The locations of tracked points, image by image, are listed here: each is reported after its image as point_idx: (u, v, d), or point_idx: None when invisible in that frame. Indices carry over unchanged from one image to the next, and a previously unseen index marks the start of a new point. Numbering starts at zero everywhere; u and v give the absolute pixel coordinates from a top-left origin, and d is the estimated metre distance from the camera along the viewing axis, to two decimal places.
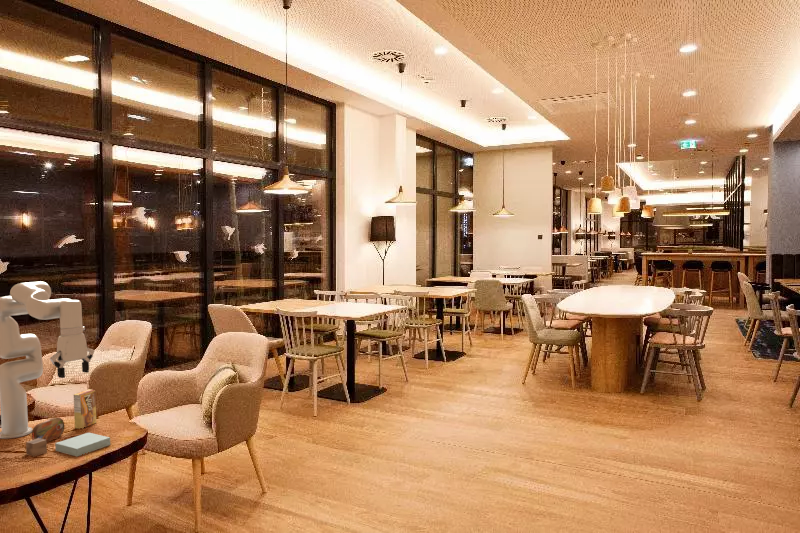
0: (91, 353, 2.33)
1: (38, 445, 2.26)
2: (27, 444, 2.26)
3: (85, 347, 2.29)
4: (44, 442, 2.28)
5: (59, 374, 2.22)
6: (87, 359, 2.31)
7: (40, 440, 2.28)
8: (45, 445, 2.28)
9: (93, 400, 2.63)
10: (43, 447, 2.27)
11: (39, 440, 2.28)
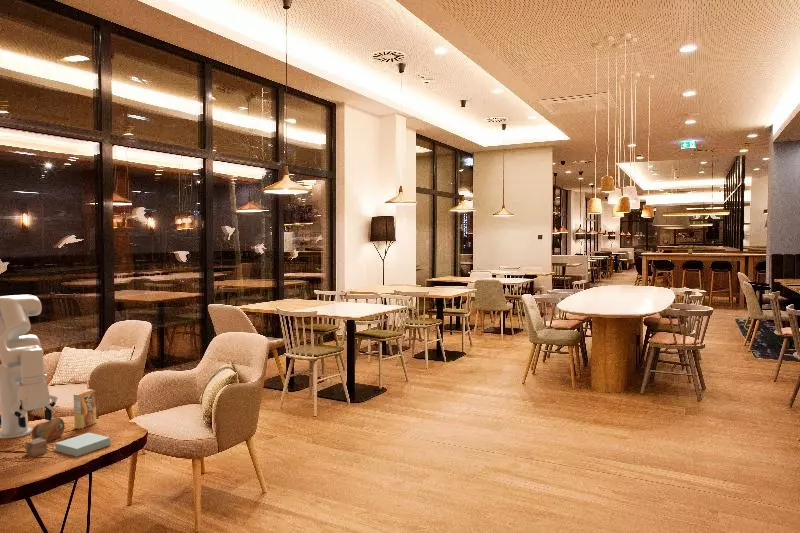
0: (54, 400, 2.33)
1: (38, 445, 2.26)
2: (27, 444, 2.26)
3: (47, 395, 2.29)
4: (44, 442, 2.28)
5: (20, 424, 2.21)
6: (49, 407, 2.30)
7: (40, 440, 2.28)
8: (45, 445, 2.28)
9: (93, 400, 2.63)
10: (43, 447, 2.27)
11: (39, 440, 2.28)
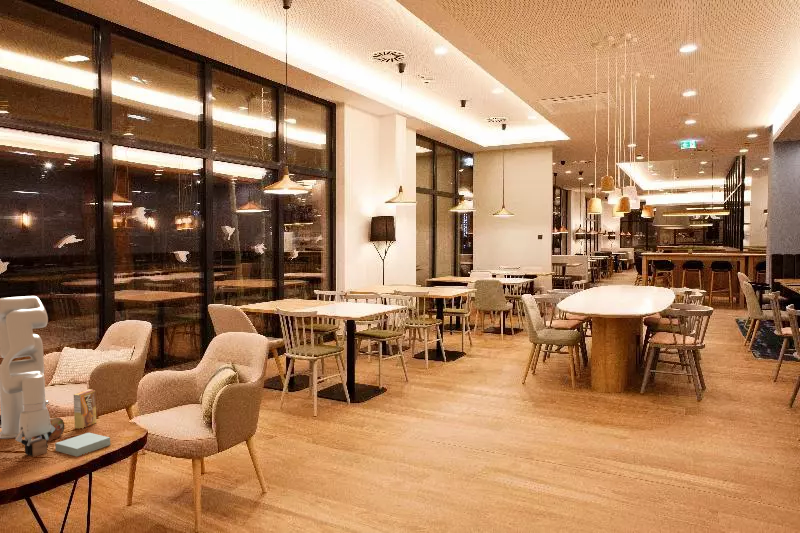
0: (51, 431, 2.32)
1: (38, 445, 2.26)
2: None
3: (48, 421, 2.29)
4: (44, 442, 2.28)
5: (26, 452, 2.24)
6: (45, 437, 2.29)
7: (40, 440, 2.28)
8: (45, 445, 2.28)
9: (93, 400, 2.63)
10: (43, 447, 2.27)
11: (39, 440, 2.28)
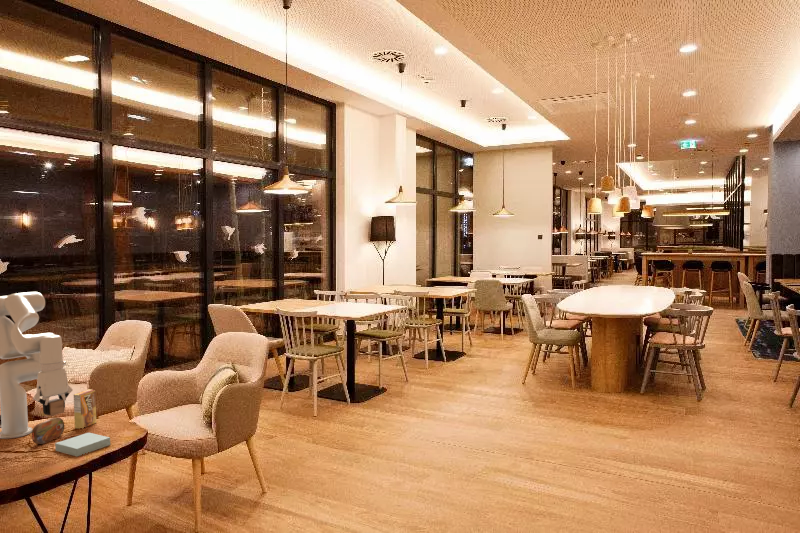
0: (68, 391, 2.33)
1: (55, 404, 2.27)
2: None
3: (65, 382, 2.30)
4: (61, 402, 2.29)
5: (44, 411, 2.25)
6: (63, 397, 2.30)
7: (57, 400, 2.29)
8: (62, 405, 2.29)
9: (93, 400, 2.63)
10: (60, 407, 2.28)
11: (56, 400, 2.29)
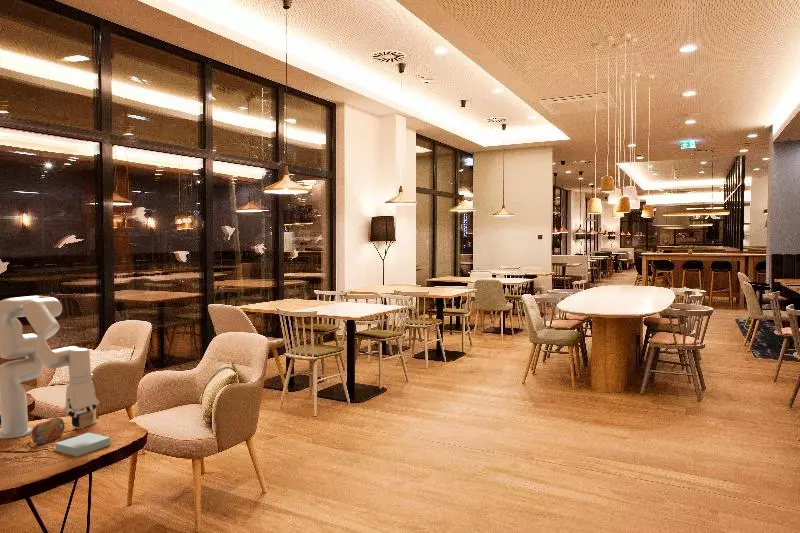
0: (96, 403, 2.37)
1: (84, 417, 2.30)
2: None
3: (93, 394, 2.34)
4: (90, 414, 2.32)
5: (73, 423, 2.29)
6: (91, 410, 2.34)
7: (86, 412, 2.32)
8: (91, 417, 2.33)
9: None
10: (89, 419, 2.32)
11: (85, 412, 2.33)
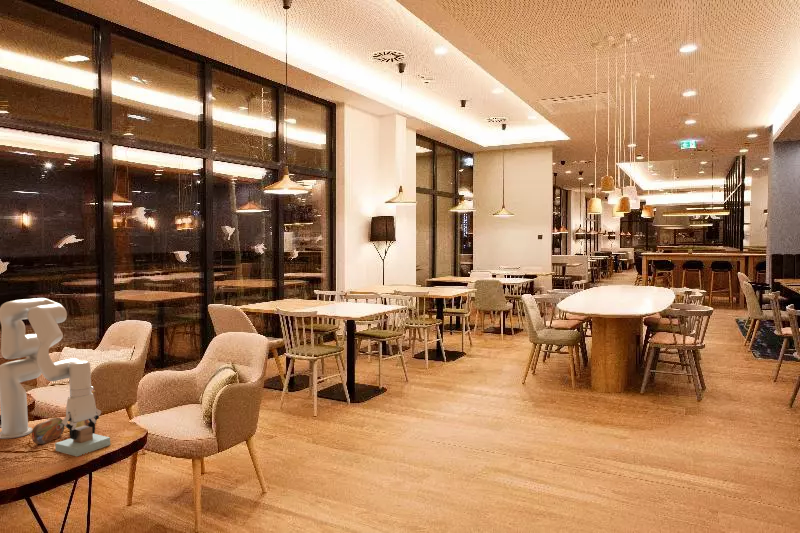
0: (98, 414, 2.38)
1: (85, 432, 2.31)
2: None
3: (94, 407, 2.34)
4: (90, 429, 2.33)
5: (71, 436, 2.28)
6: (93, 420, 2.35)
7: (86, 427, 2.33)
8: (91, 432, 2.33)
9: None
10: (89, 434, 2.33)
11: (85, 427, 2.33)
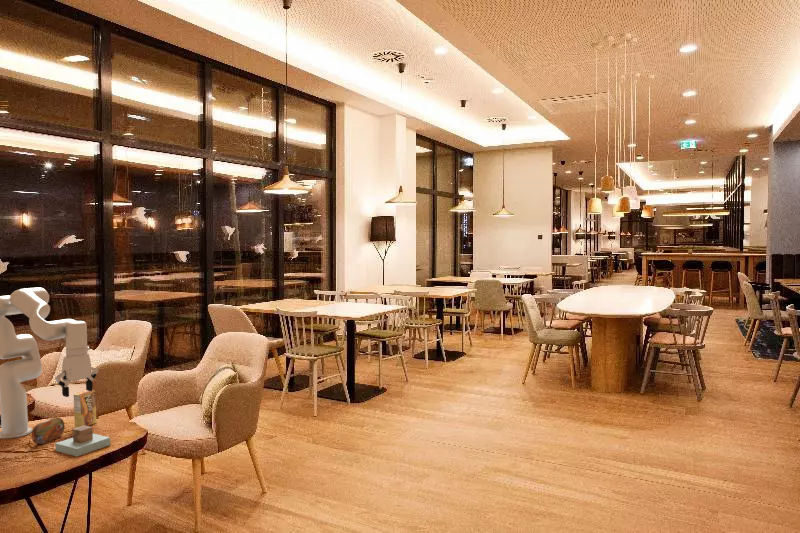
0: (95, 372, 2.41)
1: (85, 432, 2.31)
2: (74, 431, 2.31)
3: (89, 367, 2.37)
4: (90, 429, 2.33)
5: (63, 393, 2.30)
6: (91, 378, 2.39)
7: (86, 427, 2.33)
8: (91, 432, 2.33)
9: (93, 400, 2.63)
10: (89, 434, 2.33)
11: (85, 427, 2.33)
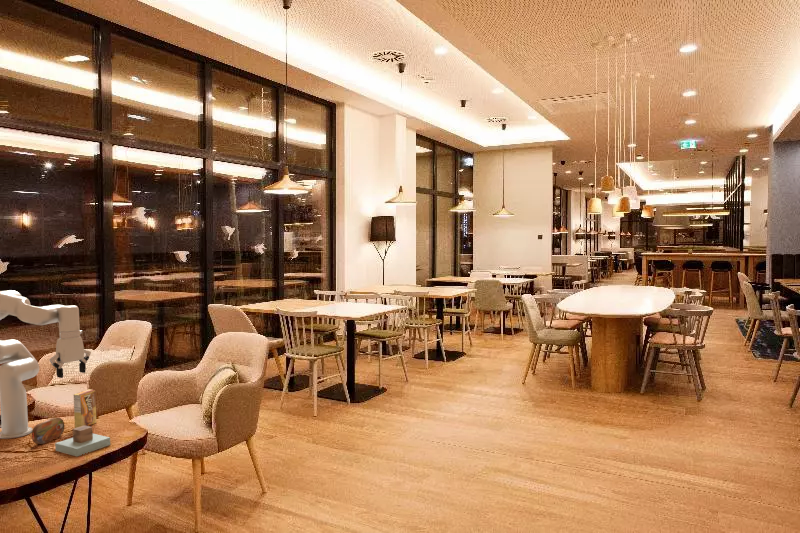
0: (88, 355, 2.52)
1: (85, 432, 2.31)
2: (74, 431, 2.31)
3: (82, 349, 2.48)
4: (90, 429, 2.33)
5: (58, 374, 2.40)
6: (84, 360, 2.49)
7: (86, 427, 2.33)
8: (91, 432, 2.33)
9: (93, 400, 2.63)
10: (89, 434, 2.33)
11: (85, 427, 2.33)
